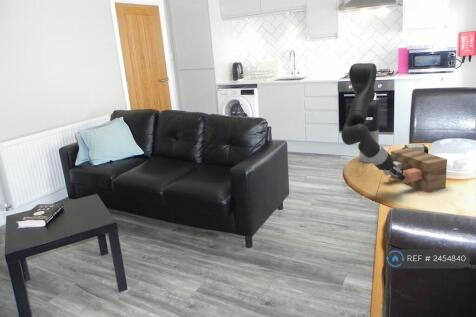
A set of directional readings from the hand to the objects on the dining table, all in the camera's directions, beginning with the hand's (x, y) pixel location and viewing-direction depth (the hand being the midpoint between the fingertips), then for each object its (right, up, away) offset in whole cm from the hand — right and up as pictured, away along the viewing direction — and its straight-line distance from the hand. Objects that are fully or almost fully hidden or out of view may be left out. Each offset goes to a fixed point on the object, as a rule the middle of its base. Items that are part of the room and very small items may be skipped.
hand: (402, 178), depth 173 cm
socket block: (+11, -2, +11) cm, 16 cm away
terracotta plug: (+7, -1, +2) cm, 7 cm away
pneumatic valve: (+19, +5, +32) cm, 38 cm away
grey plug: (+2, +2, +13) cm, 14 cm away
